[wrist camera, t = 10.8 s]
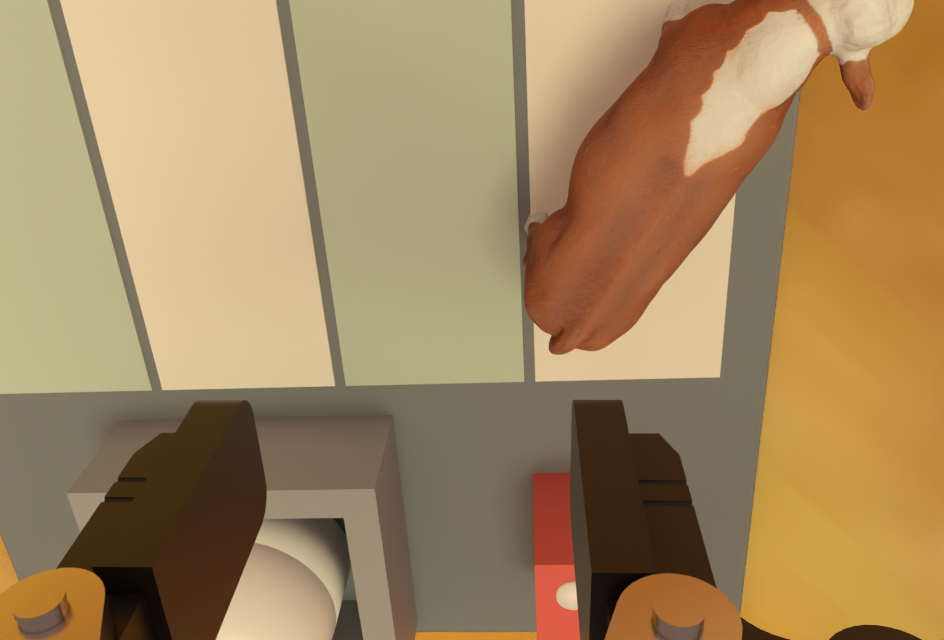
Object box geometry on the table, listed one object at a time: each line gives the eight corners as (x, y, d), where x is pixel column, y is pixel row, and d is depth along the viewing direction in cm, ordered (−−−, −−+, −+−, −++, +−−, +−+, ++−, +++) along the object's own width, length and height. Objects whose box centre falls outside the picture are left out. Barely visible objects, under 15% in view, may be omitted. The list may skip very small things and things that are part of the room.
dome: (361, 607, 35) (329, 754, 29) (205, 608, 35) (142, 752, 29) (341, 479, 32) (300, 612, 26) (171, 481, 32) (93, 613, 26)
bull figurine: (866, -42, 25) (1013, -17, 17) (580, 294, 30) (600, 422, 23) (754, -140, 24) (861, -157, 16) (479, 226, 29) (466, 336, 22)
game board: (734, 620, 36) (769, 740, 31) (46, 622, 39) (-26, 733, 34) (820, -143, 23) (905, -153, 18) (-227, -74, 26) (-414, -64, 20)
